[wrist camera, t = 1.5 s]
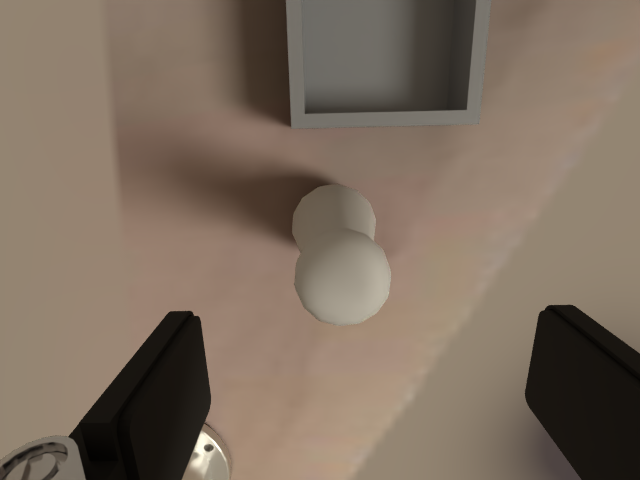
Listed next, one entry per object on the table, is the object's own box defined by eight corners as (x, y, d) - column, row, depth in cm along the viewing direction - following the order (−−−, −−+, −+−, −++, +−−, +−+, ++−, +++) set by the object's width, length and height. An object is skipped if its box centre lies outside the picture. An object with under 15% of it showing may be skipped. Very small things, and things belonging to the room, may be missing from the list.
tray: (452, 125, 26) (479, 124, 22) (295, 128, 26) (291, 128, 22) (466, -62, 23) (501, -107, 18) (288, -58, 23) (281, -102, 18)
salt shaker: (366, 257, 29) (402, 355, 16) (292, 251, 29) (272, 346, 16) (374, 182, 27) (423, 226, 15) (296, 176, 27) (278, 216, 14)
